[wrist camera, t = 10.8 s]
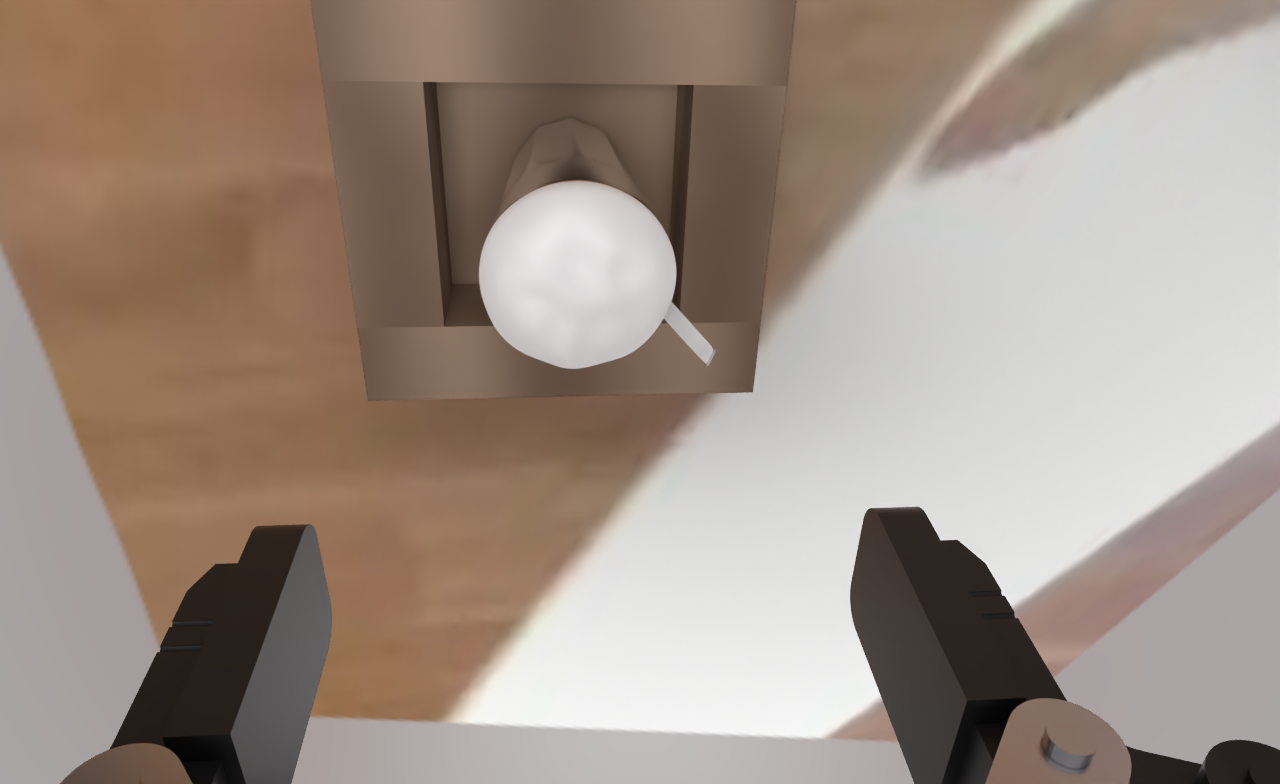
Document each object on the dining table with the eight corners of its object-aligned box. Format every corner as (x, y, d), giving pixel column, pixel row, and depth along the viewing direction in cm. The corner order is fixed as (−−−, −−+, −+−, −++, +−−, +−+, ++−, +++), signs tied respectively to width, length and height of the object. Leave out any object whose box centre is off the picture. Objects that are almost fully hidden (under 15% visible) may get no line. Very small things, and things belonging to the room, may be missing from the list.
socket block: (764, -35, 26) (798, -17, 23) (730, 334, 33) (752, 392, 29) (337, -46, 25) (306, -28, 22) (386, 339, 31) (367, 400, 28)
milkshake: (633, 268, 30) (670, 440, 21) (474, 212, 28) (446, 373, 20) (690, 138, 28) (757, 271, 19) (522, 70, 26) (514, 182, 18)
